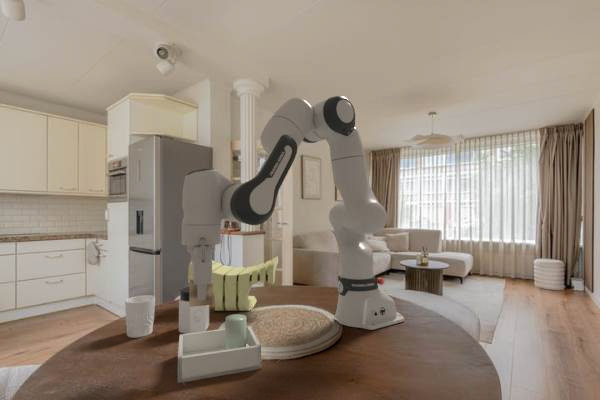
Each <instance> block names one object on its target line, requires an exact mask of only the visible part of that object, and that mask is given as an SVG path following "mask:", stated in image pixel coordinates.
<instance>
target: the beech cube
mask: <svg viewBox="0 0 600 400" xmlns="http://www.w3.org/2000/svg"><path fill="white" fill-rule="evenodd" d="M189 287H190V291H189V307H194V306H205V305H209V306H212V305H213V298H214V297H213V296H214V294H213V282H211V284H207V288H206V299H205V300H200V301H199V300H198V299H197V285H195V284H194V280H190V283H189Z"/></svg>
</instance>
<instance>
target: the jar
mask: <svg viewBox="0 0 600 400" xmlns="http://www.w3.org/2000/svg"><path fill="white" fill-rule="evenodd" d="M179 291H180V294H179V295H180V297H179V299H178V333H180V334H187V333H195V332H203V331H207V330H208V328H209V326H210V305H205V306H194V307H189V291H190V286H187V287H183V288H182V289H180V290H179Z"/></svg>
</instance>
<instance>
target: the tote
mask: <svg viewBox="0 0 600 400" xmlns="http://www.w3.org/2000/svg"><path fill="white" fill-rule="evenodd" d="M251 326H252V325H246V344H248V345H249V347H242V348H235V349H229V350H225V328H220V329H213V330H212V329H211V330H206V331H203V332H195V333H187V334H185V333H180V334H179V335H178V336H179V337H178V338H179V340H178V352H177V384H182V383H187V382H188V383H189V382H193V381H199V380H203V379H204V380H205V379H210V378H215V377H220V376H228V375H234V374H238V373H244V372H249V371H256V370H261V369H262V345H261V343H260V341H259V340H258V337H257V336H256V334H255V332H254V331H253V328H252V327H251Z"/></svg>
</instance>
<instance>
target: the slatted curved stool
mask: <svg viewBox="0 0 600 400" xmlns="http://www.w3.org/2000/svg"><path fill="white" fill-rule="evenodd" d="M278 264H279V255H277V256H275V257H273V258H272V259H270V260H267V261H266V262H262V263H260V264H258V265H257V264H256V265H253V266H247V267H244V266H243V267H242V266H241V267H238V266H237V267H234V266H230V265H225V264H224V265H223V264H222V263H220V262H216V261H215V260H213V259H212V282H213V296H214V297H213V298H214V312H215V311H218V312H220V311H221V312H224V311H227V312H238V311H240V312H242V311H243V312H251V311H252V310H253V308H254V306H255V305H256V303H257V302H258V300H257V298H256V297H255V295H250V292H251V289H252V286H254V285H255V284H258V282H259V283H266V282H267V283H268V284H272V285H274V283H275V281H276V279H275V278H276V270H277V267H278ZM187 280H188V281H187V283H188V285H190V280H194V279H193V267H192V260H190V263H189V264H188V269H187ZM250 310H251V311H250Z"/></svg>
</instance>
